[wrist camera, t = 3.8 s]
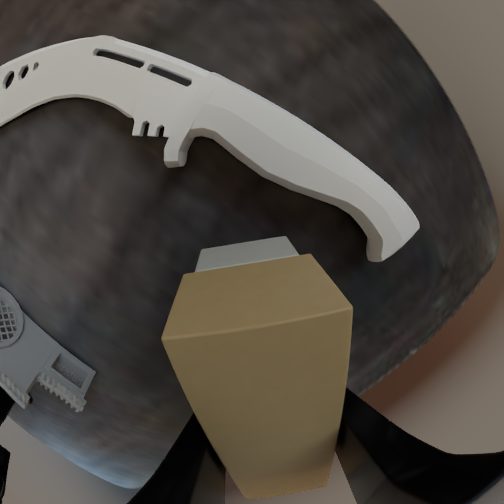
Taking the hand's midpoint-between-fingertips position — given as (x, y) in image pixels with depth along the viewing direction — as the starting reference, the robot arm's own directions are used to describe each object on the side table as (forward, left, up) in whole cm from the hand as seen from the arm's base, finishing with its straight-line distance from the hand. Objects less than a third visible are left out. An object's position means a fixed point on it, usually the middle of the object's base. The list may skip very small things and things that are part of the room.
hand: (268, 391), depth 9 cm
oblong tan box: (0, 0, -2) cm, 2 cm away
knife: (-6, +11, -4) cm, 14 cm away
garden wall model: (-14, +2, -4) cm, 15 cm away
